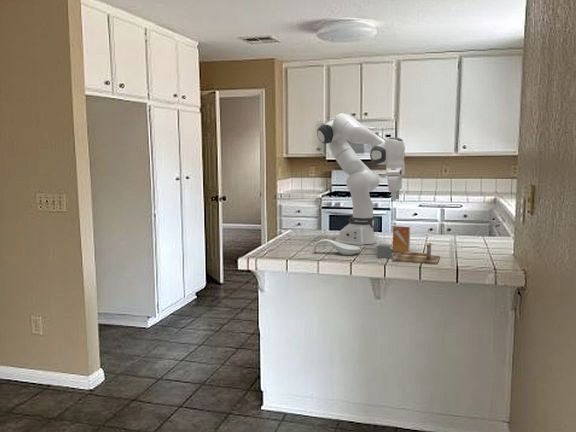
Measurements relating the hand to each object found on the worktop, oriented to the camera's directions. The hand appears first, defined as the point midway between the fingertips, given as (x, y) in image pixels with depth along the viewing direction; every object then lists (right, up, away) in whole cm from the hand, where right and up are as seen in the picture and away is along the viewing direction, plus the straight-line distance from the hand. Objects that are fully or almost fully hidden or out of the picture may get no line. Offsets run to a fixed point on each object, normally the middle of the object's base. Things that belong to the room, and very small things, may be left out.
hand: (395, 199), depth 253 cm
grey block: (-6, -28, -4) cm, 29 cm away
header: (+8, -28, -9) cm, 31 cm away
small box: (+5, -26, +12) cm, 29 cm away
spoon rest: (-28, -27, +6) cm, 40 cm away
